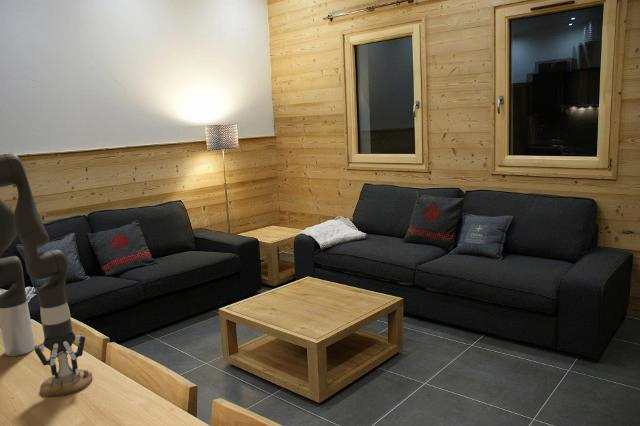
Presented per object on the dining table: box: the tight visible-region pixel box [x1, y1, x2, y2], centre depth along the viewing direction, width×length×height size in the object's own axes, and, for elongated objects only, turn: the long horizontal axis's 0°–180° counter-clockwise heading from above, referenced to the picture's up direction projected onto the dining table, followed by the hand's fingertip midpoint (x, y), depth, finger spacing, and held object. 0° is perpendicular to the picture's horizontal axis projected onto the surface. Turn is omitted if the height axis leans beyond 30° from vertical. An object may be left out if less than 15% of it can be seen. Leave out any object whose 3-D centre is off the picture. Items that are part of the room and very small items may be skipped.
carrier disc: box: [39, 367, 93, 398], centre depth 160 cm, size 14×14×3 cm
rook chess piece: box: [56, 351, 74, 379], centre depth 159 cm, size 4×4×8 cm
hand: (65, 372), depth 160 cm, fingers closed on rook chess piece, 4 cm apart
